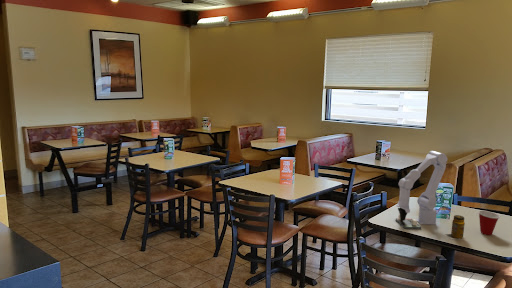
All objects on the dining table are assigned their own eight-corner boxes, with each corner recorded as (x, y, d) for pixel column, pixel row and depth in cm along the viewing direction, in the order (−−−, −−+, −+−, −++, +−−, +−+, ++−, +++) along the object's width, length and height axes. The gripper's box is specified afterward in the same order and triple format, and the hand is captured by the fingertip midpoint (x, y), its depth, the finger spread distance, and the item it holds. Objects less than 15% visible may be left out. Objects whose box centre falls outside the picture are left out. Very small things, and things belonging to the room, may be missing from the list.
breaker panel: (411, 220, 244) (412, 218, 243) (421, 229, 230) (421, 226, 230) (395, 220, 244) (395, 218, 243) (403, 229, 230) (404, 226, 230)
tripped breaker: (401, 218, 242) (401, 214, 241) (403, 220, 239) (403, 215, 238) (398, 218, 242) (398, 214, 241) (400, 220, 239) (400, 215, 238)
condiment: (466, 239, 217) (468, 218, 215) (452, 239, 216) (454, 219, 214) (458, 234, 224) (460, 214, 222) (444, 234, 223) (446, 214, 221)
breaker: (414, 223, 234) (415, 219, 233) (416, 225, 231) (417, 220, 230) (411, 223, 234) (411, 218, 233) (413, 225, 231) (413, 220, 230)
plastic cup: (497, 238, 218) (500, 218, 216) (475, 234, 224) (477, 214, 222) (497, 232, 228) (500, 212, 226) (476, 228, 233) (478, 209, 231)
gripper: (393, 194, 243) (391, 215, 245) (402, 202, 228) (400, 224, 231) (404, 194, 243) (403, 216, 245) (414, 202, 228) (412, 224, 231)
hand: (402, 220), depth 238 cm, fingers closed
